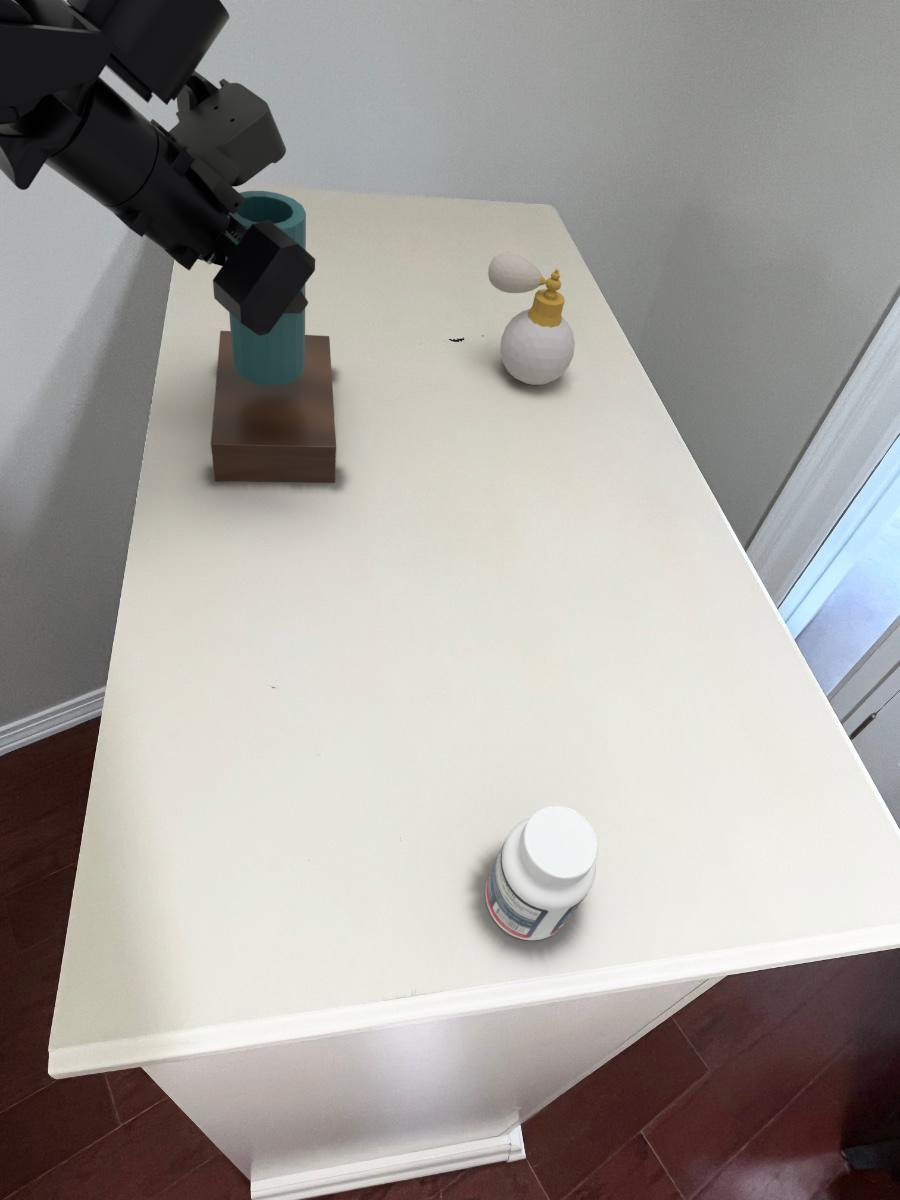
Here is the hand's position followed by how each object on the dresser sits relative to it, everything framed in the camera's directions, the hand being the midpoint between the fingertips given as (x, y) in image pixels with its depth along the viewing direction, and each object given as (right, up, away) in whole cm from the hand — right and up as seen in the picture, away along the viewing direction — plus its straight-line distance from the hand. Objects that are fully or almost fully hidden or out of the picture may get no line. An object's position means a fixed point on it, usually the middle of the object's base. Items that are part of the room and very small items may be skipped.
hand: (281, 288), depth 62 cm
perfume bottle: (+20, -1, +20) cm, 29 cm away
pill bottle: (+18, -43, -14) cm, 48 cm away
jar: (-2, -5, +4) cm, 7 cm away
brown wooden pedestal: (-3, -8, +10) cm, 13 cm away
